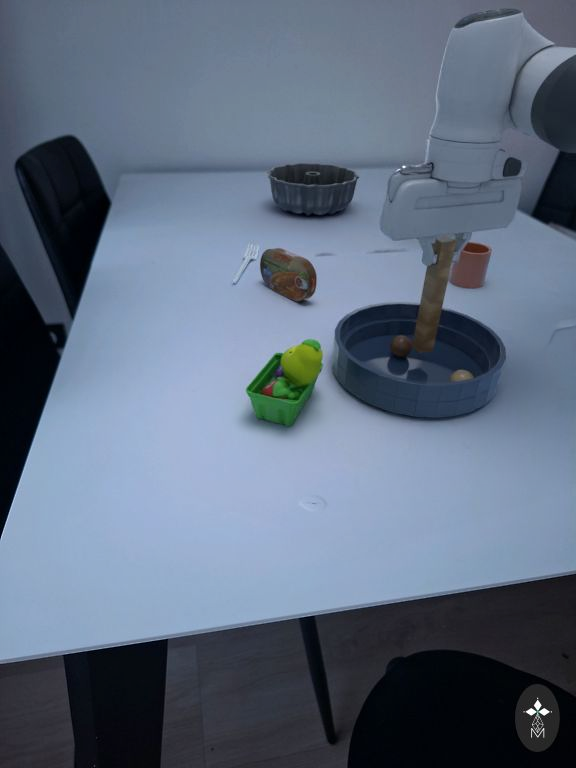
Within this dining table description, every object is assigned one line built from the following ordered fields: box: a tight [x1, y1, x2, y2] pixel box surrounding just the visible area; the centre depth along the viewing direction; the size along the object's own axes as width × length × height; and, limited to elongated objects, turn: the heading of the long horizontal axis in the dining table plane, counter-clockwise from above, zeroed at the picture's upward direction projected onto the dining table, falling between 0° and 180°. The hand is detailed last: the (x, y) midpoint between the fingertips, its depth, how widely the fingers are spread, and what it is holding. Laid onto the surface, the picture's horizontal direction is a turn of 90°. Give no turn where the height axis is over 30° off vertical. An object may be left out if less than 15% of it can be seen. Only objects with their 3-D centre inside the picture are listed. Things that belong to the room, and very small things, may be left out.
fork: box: [232, 243, 260, 284], centre depth 119 cm, size 3×20×2 cm, turn 171°
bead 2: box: [449, 370, 474, 382], centre depth 78 cm, size 4×4×4 cm
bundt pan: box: [267, 162, 360, 217], centre depth 156 cm, size 26×26×10 cm
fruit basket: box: [245, 338, 324, 427], centre depth 73 cm, size 11×9×11 cm
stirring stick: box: [412, 236, 456, 354], centre depth 80 cm, size 2×2×18 cm
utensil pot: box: [448, 241, 493, 290], centre depth 112 cm, size 7×7×8 cm
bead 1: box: [390, 335, 412, 357], centre depth 87 cm, size 4×4×4 cm
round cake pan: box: [331, 301, 507, 418], centre depth 83 cm, size 26×26×6 cm
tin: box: [259, 247, 318, 303], centre depth 106 cm, size 15×3×8 cm, turn 40°
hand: (440, 262), depth 77 cm, fingers closed on stirring stick, 2 cm apart
